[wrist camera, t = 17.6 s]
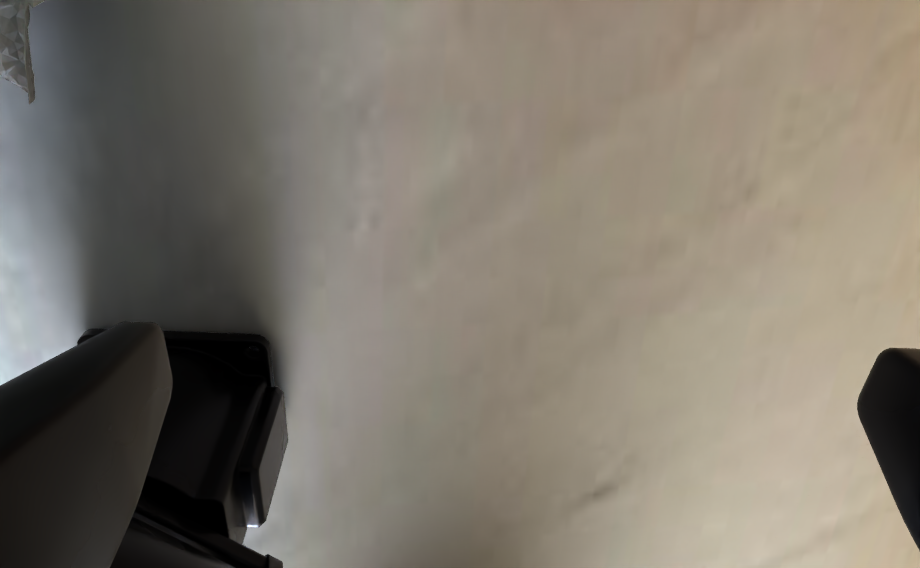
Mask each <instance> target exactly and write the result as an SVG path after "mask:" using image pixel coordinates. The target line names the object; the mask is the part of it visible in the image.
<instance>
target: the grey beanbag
mask: <svg viewBox="0 0 920 568" xmlns="http://www.w3.org/2000/svg"><path fill="white" fill-rule="evenodd" d="M43 1H45V0H0V75H1V76H2V77H4V78H5V79H6V80H8V81H10V82H12V83H14V84H16V85H18V86H19V87H21V88H22V89H23V90H25V91H26V92H28V97H29V104H30V103H32V102H33V101H34V100H35V87H34V73H33V70H32V64H31V55H30V47H29V37H28V25H29V20H30V11H29V4H30V5H31V6H32V8H33V7H35V6H37V5H38V4H40V3H42V2H43Z"/></svg>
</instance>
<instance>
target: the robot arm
mask: <svg viewBox="0 0 920 568" xmlns="http://www.w3.org/2000/svg"><path fill="white" fill-rule="evenodd" d="M251 346H254V347H257V348H258V349H259V350H260V351H253V350H252V349H250V347H251ZM857 410H858V415H859V418H860V421H861V423H862V425H863V428H864V430H865V432H866V435H867V437H868V439H869V442H870V444H871V446H872V449H873V451H874V453H875V456H876V458H877V460H878V463H879V465H880V467H881V470H882V472H883V474H884V477H885V479H886V481H887V484H888V486H889V488H890V491H891V493H892V495H893V498H894V500H895V502H896V505H897V507H898V509H899V511H900V513H901V516H902V518H903V520H904V522H905V524H906V526H907V528H908V530H909V532H910V534H911V536H912V538H913V539H914V541H915V543H916V545H917V547H918V549H919V550H920V349H910V348H889V349H886V350H884V351H882V352H881V353H880V354H879V355H878V357H877V359H876V361H875V363H874V365H873V367H872V369H871V371H870V374H869V376H868V378H867V380H866V382H865V384H864V386H863V388H862V390H861V393H860V395H859V397H858V402H857ZM287 442H288V434H287V423H286V413H285V403H284V393H283V391H282V390H281V389H280V388H279V387H278V386H274V378H273V369H272V359H271V350H270V344H269V341H268V340H267V339H266V338H265V337H263V336H261V335H257V334H241V333H211V332H181V331H162V329H161V327H160V326H159V325H158V324H156V323H153V322H121V323H119V324H117V325H115V326H113V327H111V328H109V329H89V330H87V331H85V332H84V333H83V335H82V336H81V337H80V338H79V340H78V342H77V346H75V347H73V348H71V349H69V350H67V351H65V352H64V353H62V354H60V355H58V356H56V357H54V358H52V359H50V360H48V361H46V362H45V363H43V364H41V365H39V366H37V367H35V368H33V369H31V370H29V371H27V372H25V373H24V374H22V375H20V376H18V377H16V378H14V379H12V380H10V381H8V382H6V383H5V384H3V385H1V386H0V568H283V563H282V561H280V560H278V559H276V558H274V557H272V556H270V555H269V554H267V555H265V556H263V555H261V554H259V553H257V552H256V551H254V550H252V549H250V548H248V547H246V546H244V545H242V544H243V540H244V537H245V534H246V530H247V527H260V526H261V525H262V524H263V523H264V522H265V521H266V519H267V515H268V511H269V508H270V504H271V500H272V497H273V493H274V490H275V486H276V482H277V479H278V475H279V471H280V468H281V464H282V461H283V457H284V453H285V450H286V446H287Z"/></svg>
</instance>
